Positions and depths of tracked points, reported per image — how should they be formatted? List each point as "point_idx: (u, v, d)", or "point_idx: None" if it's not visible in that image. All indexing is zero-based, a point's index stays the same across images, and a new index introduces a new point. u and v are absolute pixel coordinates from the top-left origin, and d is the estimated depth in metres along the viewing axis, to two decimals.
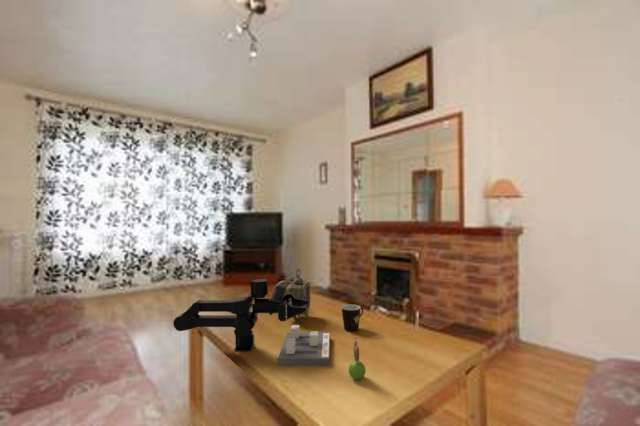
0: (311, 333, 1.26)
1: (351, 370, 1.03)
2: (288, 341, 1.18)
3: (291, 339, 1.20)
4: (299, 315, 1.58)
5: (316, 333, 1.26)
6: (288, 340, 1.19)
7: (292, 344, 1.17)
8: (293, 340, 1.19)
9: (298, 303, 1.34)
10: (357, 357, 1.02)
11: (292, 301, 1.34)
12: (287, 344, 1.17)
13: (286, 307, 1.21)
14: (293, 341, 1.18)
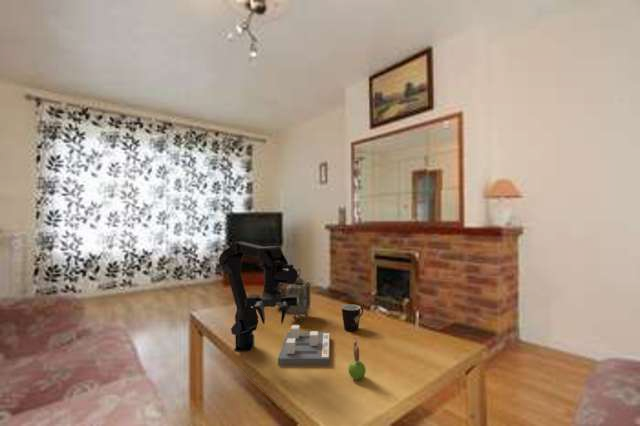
0: (311, 333, 1.26)
1: (351, 370, 1.03)
2: (288, 341, 1.18)
3: (291, 339, 1.20)
4: (299, 315, 1.58)
5: (316, 333, 1.26)
6: (288, 340, 1.19)
7: (292, 344, 1.17)
8: (293, 340, 1.19)
9: None
10: (357, 357, 1.02)
11: (282, 306, 1.19)
12: (287, 344, 1.17)
13: (253, 305, 1.18)
14: (293, 341, 1.18)
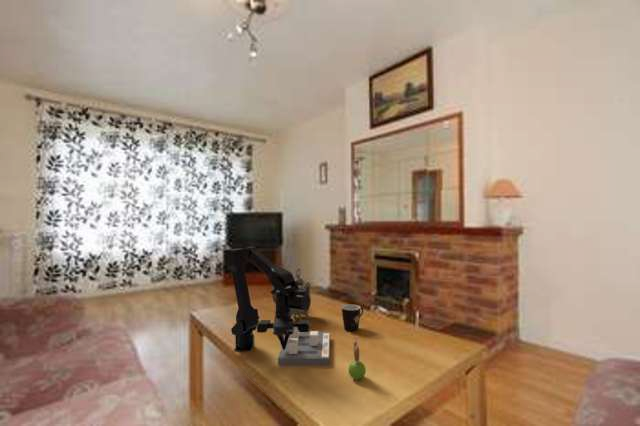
0: (311, 333, 1.26)
1: (351, 370, 1.03)
2: (291, 341, 1.18)
3: (294, 339, 1.20)
4: (299, 315, 1.58)
5: (316, 333, 1.26)
6: (291, 340, 1.19)
7: (295, 344, 1.17)
8: (296, 340, 1.19)
9: None
10: (357, 357, 1.02)
11: None
12: (290, 344, 1.17)
13: (273, 331, 1.18)
14: (296, 341, 1.18)
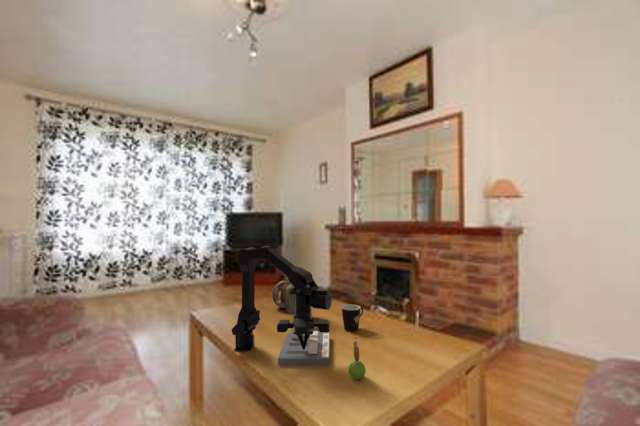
0: None
1: (351, 370, 1.03)
2: (310, 341, 1.18)
3: (313, 339, 1.20)
4: None
5: (316, 333, 1.26)
6: (310, 340, 1.19)
7: (314, 344, 1.17)
8: (315, 340, 1.19)
9: None
10: (357, 357, 1.02)
11: None
12: (309, 344, 1.17)
13: (293, 331, 1.17)
14: (315, 341, 1.18)
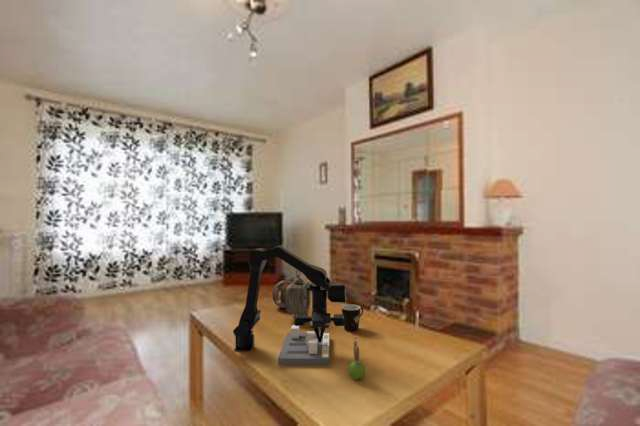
0: (308, 333, 1.26)
1: (351, 370, 1.03)
2: (310, 341, 1.18)
3: (313, 339, 1.20)
4: None
5: (313, 333, 1.26)
6: (310, 340, 1.19)
7: (314, 344, 1.17)
8: (315, 340, 1.19)
9: None
10: (357, 357, 1.02)
11: None
12: (309, 344, 1.17)
13: (310, 325, 1.24)
14: (315, 341, 1.18)
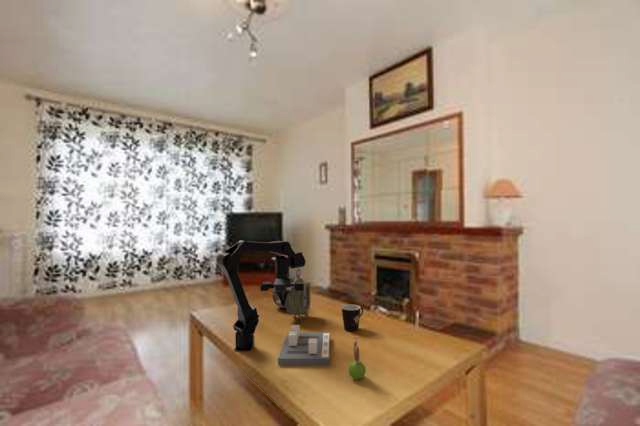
0: (290, 333, 1.26)
1: (351, 370, 1.03)
2: (310, 341, 1.18)
3: (313, 339, 1.20)
4: (299, 315, 1.58)
5: (295, 333, 1.26)
6: (310, 340, 1.19)
7: (314, 344, 1.17)
8: (315, 340, 1.19)
9: None
10: (357, 357, 1.02)
11: None
12: (309, 344, 1.17)
13: (274, 290, 1.40)
14: (315, 341, 1.18)
